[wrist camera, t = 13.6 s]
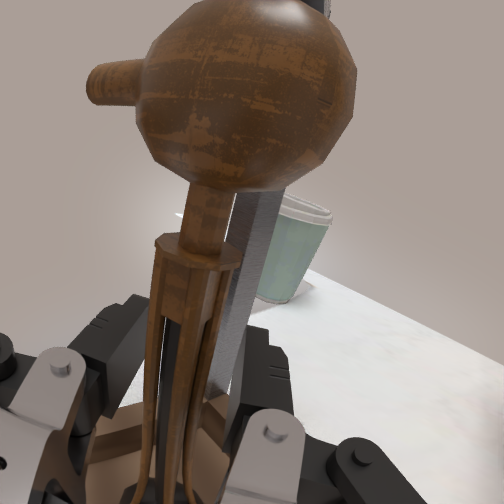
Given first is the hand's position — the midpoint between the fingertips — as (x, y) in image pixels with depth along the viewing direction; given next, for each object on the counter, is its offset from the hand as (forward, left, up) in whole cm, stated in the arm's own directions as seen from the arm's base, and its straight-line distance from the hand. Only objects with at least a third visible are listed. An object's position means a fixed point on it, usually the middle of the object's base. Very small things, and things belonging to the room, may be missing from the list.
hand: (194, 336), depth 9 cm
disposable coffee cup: (-27, -17, -12) cm, 34 cm away
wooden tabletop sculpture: (+2, +2, -11) cm, 12 cm away
